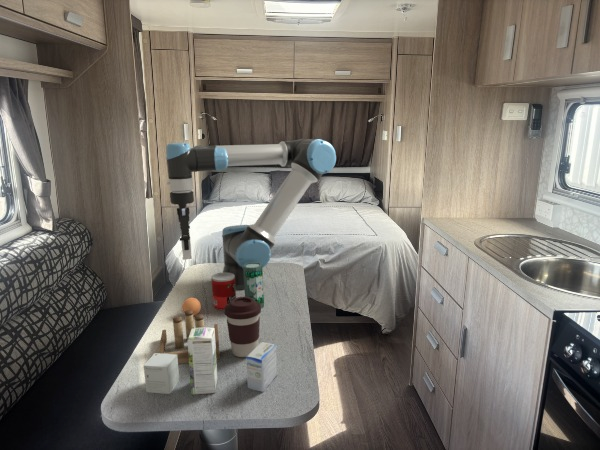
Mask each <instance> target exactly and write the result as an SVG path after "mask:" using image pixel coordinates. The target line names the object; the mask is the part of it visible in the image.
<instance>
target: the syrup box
mask: <svg viewBox="0 0 600 450" xmlns="http://www.w3.org/2000/svg"><path fill="white" fill-rule="evenodd" d="M187 350H188V356H189V362H188V367H189V368H188V369H189V370H188V371H189V380H190V394H191V395H193V396H194V395H204V394H205V395H206V394H207V395H208V394H215V393H216V389H217V384H218V365H217V364H218V362H217V359H216V344H215V328H214V327H204V328H196V327H194V329H191V332H190V335H189V338H188V341H187Z"/></svg>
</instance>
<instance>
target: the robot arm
mask: <svg viewBox="0 0 600 450" xmlns="http://www.w3.org/2000/svg"><path fill="white" fill-rule="evenodd" d="M165 149H166V151H165V152H166V158H165V159H166V167H167V174H168V175H167V176H168V181H166V184H167V185H168V187H169V191H170V192H169V199H170V203H171V204H172V205H177V206H178V208H176V215H177V218H178V222H179V228H180V237H179V242H181V249H182V251H181V253H182V259H183V260H185V261H186V260H193V259H192V257H193V255H192V245H191V236H190V229H191V226H190V224H189V222H190V207H188V206H187V204H189V205H190V204H192V203H194V201H195V195H194V191H193V189H194V181H193V173H194V172H195V173H197V172H210V171H212V172H213V171H214V172H215V171H216V172H218V171H222V170H223V171H224V170H226V169H227V168H228V167H239V166H263V165H264V166H265V165H267V166H268V165H279V166H281V167H289V168H290V167H291V171H290V172H289V173H288V175H287V176H286V178H285V179H284V180H283V182H282V183H281V185H280V186H279V188H278V189H277V191H276V193H275V194H274V195H273V197H272V198H271V200H270V201H269V203H268V204H267V205H266V206H265V208H264V210H263V211H262V212H261V214H260V216H259V217H258V218H257V220H256V221H255V222H254V223H252V224H238V225H230V226H225V227H224V228H222V233H221V234H222V235H221V238H222V247H223V248H222V250H223V265H224V266H223V269H222V272H221V273H223V272H227V273H232V274H234V275H235V288H236V290H240V291H241V290H244V271H243V265H244V264H246V263H249V262H259V263H262V269H264V268H265V267H266V266H267V265H268V264H269V262H270V260H271V256H272V254H271V253H272V252H271V250H272V249H273V247H274V246H275V244H276V242H275V237H276V235H277V234H278V232H279V231H280V229H281V228H282V226H284V223H285V222H286V221H287V219H288V218H289V216H291V214H292V212H293V210H294V209H295V207H296V206H297V205H298V204H299V201H300V200H301V199H302V197H303V196H304V195H305V193H306V191H307V190H308V189H309V187H310V186H311V184H314V183H318V182H319V180H320V178H321V177H322V176H323V175H324V174H327V173H329V172H331V171H332V170H333V168H334V167H335V165H336V162H337V155H336V154H337V153H336V150H335V148H334V146H333V145H332V144H331V143H330V142H328V141H326V140H323V139H321V138H318V139H312V138H300V139H295V140H286V141H285V140H284V141H280V142H279V143H273V144H272V143H271V144H269V143H268V144H233V145H229V144H228V145H199V144H198V145H195V146H193V147H192V148H191V145H190V143H188V142H174V143H173V142H172V143H168V144H167V145H166V148H165Z"/></svg>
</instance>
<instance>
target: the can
mask: <svg viewBox="0 0 600 450" xmlns="http://www.w3.org/2000/svg"><path fill="white" fill-rule="evenodd" d="M263 269H264V268H262V263H259V262H249V263H246V264H244V265H243V271H244V289H243V290H244V297H251V298H253V299H254V300H255V301H256V302H258V303H260V305H261V309H263V308H264V307H265V297H264V296H265V295H264V293H265V292H264V274H263V272H264V271H263Z"/></svg>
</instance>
